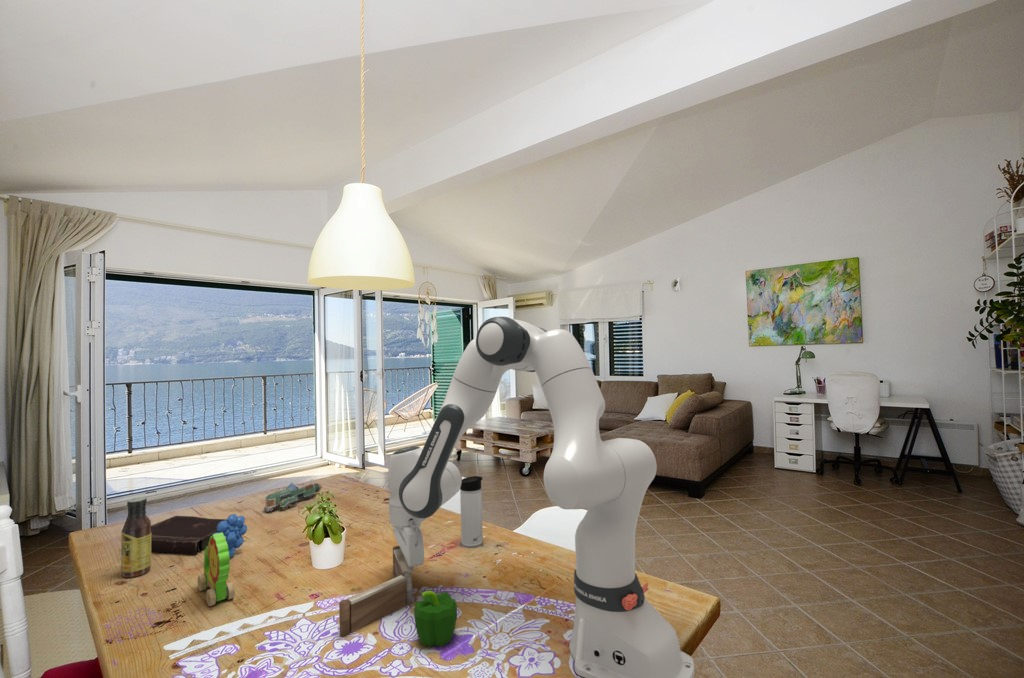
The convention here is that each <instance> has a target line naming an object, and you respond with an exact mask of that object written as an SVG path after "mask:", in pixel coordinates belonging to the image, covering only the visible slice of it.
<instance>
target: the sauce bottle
mask: <svg viewBox="0 0 1024 678" xmlns="http://www.w3.org/2000/svg"><path fill="white" fill-rule="evenodd" d="M147 501H148V500H147V497H145V496H140V497H139V496H137V497H133V498H131V499H128V500H127V501H126V506H127V517H126V520H125V522H124V525H123V527H122V530H121V546H120V547H121V551H120V552H121V553H120V554H121V556H120V557H121V574H122V575H121V576H122V577H124V578H127V579H130V578H136V577H140V576H143V575H145V574H147V573H148V572H150V570H151V565H152V553H151V526H152V522H151V519H150V518H149V517H148V515H146V514H147V511H146V508H147Z"/></svg>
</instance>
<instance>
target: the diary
mask: <svg viewBox="0 0 1024 678" xmlns="http://www.w3.org/2000/svg"><path fill="white" fill-rule="evenodd" d="M224 520H225V521H226V520H227V519H225V518H206V517H198V516H192V515H191V516H188V515H175V516H171V517H169V518H167V519H164V520H162V521H159V522H157V523H154V524H151V554H165V555H169V554H170V555H182V556H194V557H195V556H196V555H197V556H198V553H201V552H202V551H205V549H206V547H208V544H209V540H210V537H211V536H212V535H213V534H214V533H217V525H218V524H219V523H220V522H221V521H224Z"/></svg>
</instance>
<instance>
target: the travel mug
mask: <svg viewBox="0 0 1024 678" xmlns="http://www.w3.org/2000/svg"><path fill="white" fill-rule="evenodd" d="M482 480H483V476H480V475H479V476H477V475H475V476H474V475H473V476H468V477H467V476H466V477H465V478H464V477H463V478H462V485H461V488H460V490H459V491H460V492H459V495H460V497H459V498H460V499H459V500H460V529H461V530H460V536H461V537H460V538H461V539H460V540H461V541H460V542H461V543H460V544H461V546H462V547H463V548H466V549H477V548H480V547H483V545H484V541H483V539H484V538H483V535H484V533H483V532H484V531H483V502H482V501H483V500H482V499H483V498H482V494H483V493H482Z"/></svg>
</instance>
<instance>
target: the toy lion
mask: <svg viewBox="0 0 1024 678" xmlns="http://www.w3.org/2000/svg"><path fill="white" fill-rule="evenodd" d="M230 560H231V558H230V556H229V551H228V544H227V542H226V538H225V536H224V534H223V533H222V532H221V533H217V534H213V535H212V536H211V537H210V540H209V544H208V547H206V549H205V550H204V555H203V573H202V574H199V575H197V586H198V591H199V592H202V591H204V590H206V589H207V587H209V589H207V590H206V593H205V594H206V597H205V598H206V603H207V605H208V607H209V606H210V607H212V606H215V605H216V604H217V602H219V601H222V600H223V601H224V600H225V599H227V600H228V601H229V600H231V599H233V598H235V587H234V583H233V582H232V581H230V582H227V580H228V579H229V573H230V572H231V571H230V570H231V569H230V567H231V566H230Z"/></svg>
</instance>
